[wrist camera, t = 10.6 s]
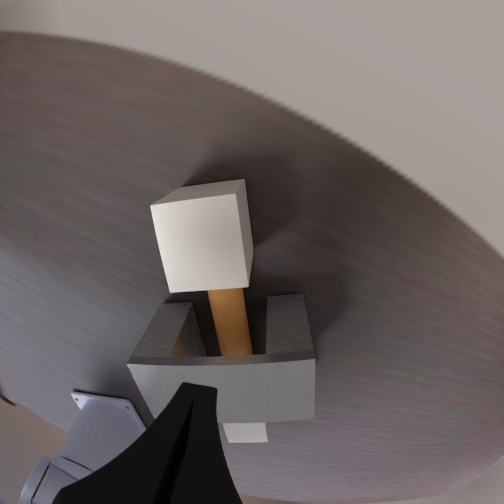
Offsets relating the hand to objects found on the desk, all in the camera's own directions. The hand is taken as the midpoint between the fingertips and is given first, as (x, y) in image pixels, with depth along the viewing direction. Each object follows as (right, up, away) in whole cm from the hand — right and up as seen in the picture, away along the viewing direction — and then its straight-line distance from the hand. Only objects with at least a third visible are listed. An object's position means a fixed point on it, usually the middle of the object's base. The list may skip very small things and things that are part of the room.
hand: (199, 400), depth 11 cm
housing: (+1, -1, +11) cm, 11 cm away
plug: (+1, +1, +10) cm, 10 cm away
